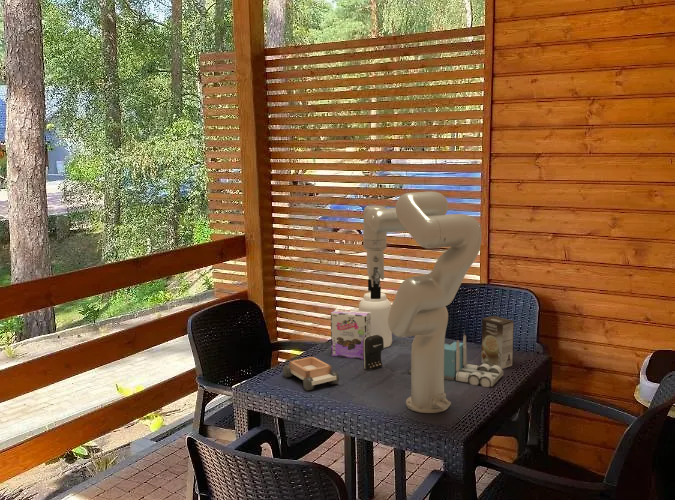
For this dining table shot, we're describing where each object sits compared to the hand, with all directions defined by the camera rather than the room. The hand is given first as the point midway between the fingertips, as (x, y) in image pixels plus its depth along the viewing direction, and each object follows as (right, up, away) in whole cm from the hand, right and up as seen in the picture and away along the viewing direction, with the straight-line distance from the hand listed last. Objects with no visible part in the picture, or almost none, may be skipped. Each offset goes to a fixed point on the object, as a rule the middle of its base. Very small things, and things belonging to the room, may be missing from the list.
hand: (374, 294), depth 222 cm
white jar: (+3, -22, +36) cm, 42 cm away
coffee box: (+43, -25, +11) cm, 51 cm away
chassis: (-21, -28, -2) cm, 35 cm away
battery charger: (+1, -26, +9) cm, 28 cm away
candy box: (-7, -24, +23) cm, 34 cm away
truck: (+27, -27, +1) cm, 38 cm away
